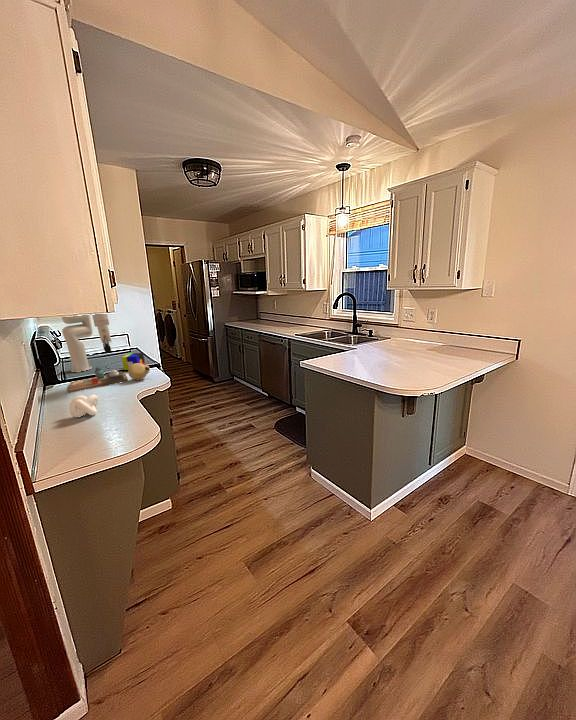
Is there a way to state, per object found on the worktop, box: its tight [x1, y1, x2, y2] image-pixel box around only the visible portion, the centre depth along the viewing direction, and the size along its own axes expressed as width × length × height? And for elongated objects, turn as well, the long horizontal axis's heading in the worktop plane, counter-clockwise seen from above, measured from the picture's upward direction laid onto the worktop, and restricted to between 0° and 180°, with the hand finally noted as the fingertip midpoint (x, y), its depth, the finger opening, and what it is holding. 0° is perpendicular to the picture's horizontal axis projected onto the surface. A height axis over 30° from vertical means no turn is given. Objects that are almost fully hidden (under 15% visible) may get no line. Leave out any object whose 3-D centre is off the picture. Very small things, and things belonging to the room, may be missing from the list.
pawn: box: [94, 366, 105, 379], centre depth 197 cm, size 4×4×8 cm
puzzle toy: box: [121, 352, 146, 371], centre depth 219 cm, size 10×10×10 cm
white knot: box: [69, 394, 99, 418], centre depth 148 cm, size 11×12×9 cm
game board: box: [68, 370, 129, 394], centre depth 194 cm, size 18×30×5 cm, turn 121°
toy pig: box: [127, 363, 151, 381], centre depth 195 cm, size 10×12×11 cm
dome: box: [108, 369, 120, 377], centre depth 194 cm, size 6×6×4 cm
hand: (107, 351), depth 190 cm, fingers open, 9 cm apart
